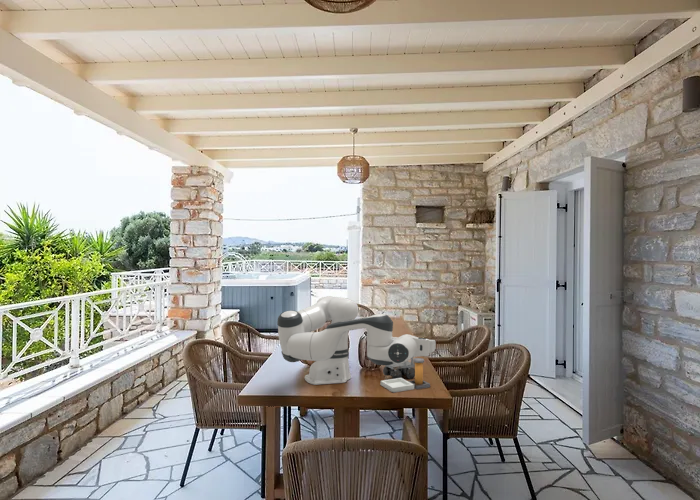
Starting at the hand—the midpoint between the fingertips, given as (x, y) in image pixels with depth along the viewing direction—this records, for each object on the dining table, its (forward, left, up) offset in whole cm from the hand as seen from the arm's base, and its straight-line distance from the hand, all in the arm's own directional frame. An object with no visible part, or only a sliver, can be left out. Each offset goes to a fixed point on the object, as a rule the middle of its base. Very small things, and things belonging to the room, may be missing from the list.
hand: (413, 340), depth 169 cm
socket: (+9, +9, -23) cm, 27 cm away
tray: (-1, +12, -23) cm, 26 cm away
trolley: (+8, +24, -23) cm, 34 cm away
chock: (0, +20, -23) cm, 31 cm away
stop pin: (+9, +9, -23) cm, 27 cm away
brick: (+19, +37, -24) cm, 48 cm away
